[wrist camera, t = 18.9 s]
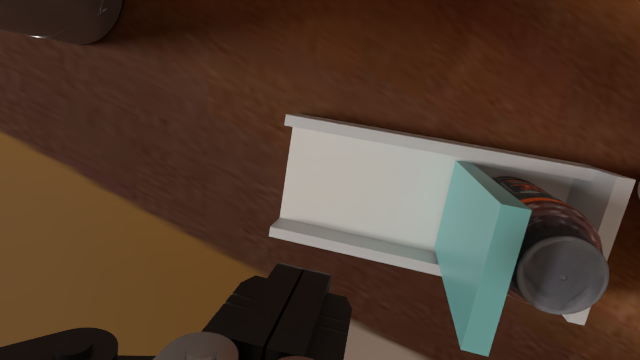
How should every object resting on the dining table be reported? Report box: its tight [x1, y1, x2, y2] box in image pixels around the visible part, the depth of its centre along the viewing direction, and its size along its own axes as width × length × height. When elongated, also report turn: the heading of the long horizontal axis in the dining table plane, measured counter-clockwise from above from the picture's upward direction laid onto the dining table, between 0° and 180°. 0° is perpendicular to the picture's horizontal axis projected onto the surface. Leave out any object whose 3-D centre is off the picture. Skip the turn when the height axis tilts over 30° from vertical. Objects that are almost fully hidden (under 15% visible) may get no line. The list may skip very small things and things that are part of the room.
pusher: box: [434, 161, 532, 356], centre depth 23 cm, size 1×7×13 cm, turn 171°
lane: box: [269, 113, 636, 325], centre depth 28 cm, size 22×10×6 cm, turn 81°
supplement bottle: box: [491, 176, 609, 315], centre depth 23 cm, size 6×6×11 cm
